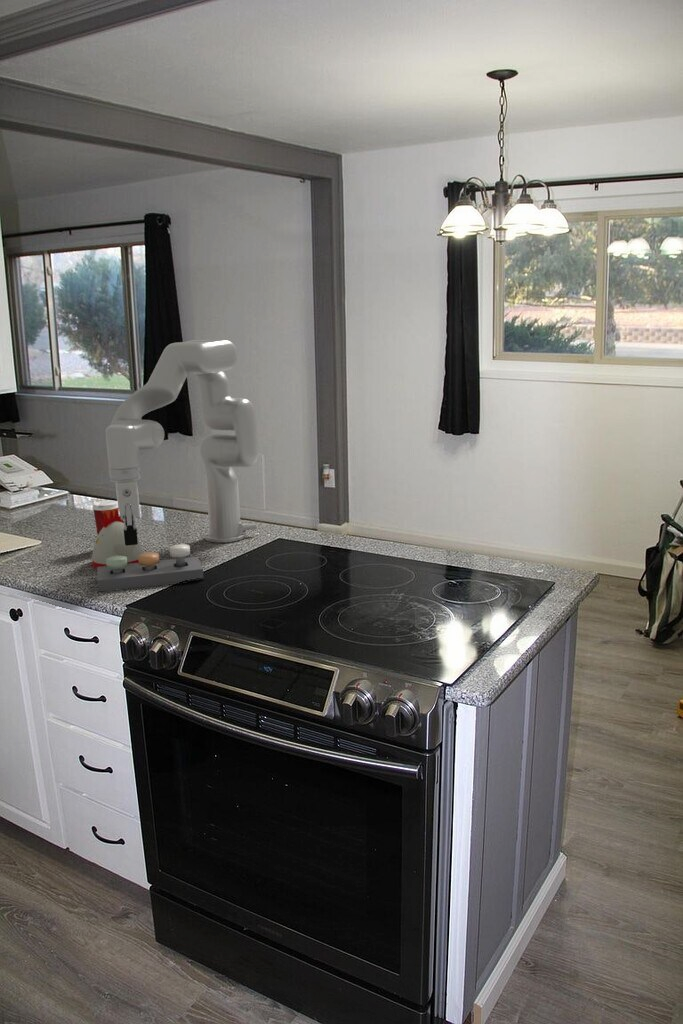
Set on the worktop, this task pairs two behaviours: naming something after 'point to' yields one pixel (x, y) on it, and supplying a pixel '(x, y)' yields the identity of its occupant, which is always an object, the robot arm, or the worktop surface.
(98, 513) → the paper cup
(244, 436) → the robot arm
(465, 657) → the worktop surface
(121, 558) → the button sage
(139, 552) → the white rounded crested piece
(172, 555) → the button ivory
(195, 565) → the console
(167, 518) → the worktop surface
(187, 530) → the worktop surface
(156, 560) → the button terracotta
